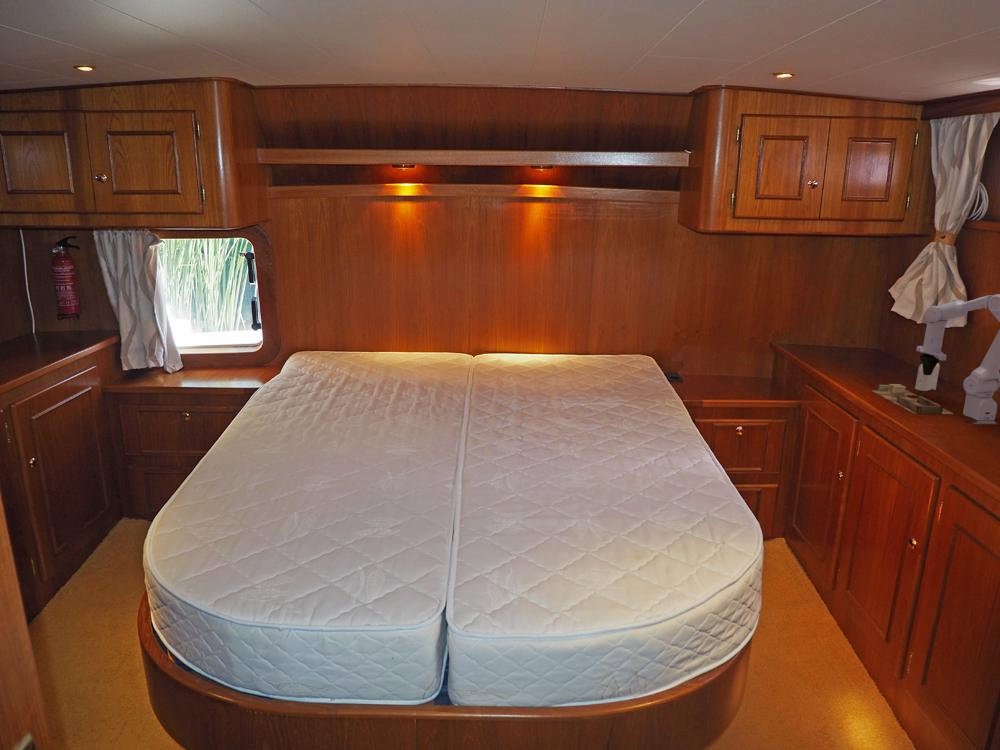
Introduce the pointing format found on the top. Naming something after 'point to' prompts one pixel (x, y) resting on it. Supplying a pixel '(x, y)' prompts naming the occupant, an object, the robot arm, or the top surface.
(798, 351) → the top surface
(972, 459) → the top surface
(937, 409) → the cubby
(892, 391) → the cube
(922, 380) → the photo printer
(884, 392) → the board
